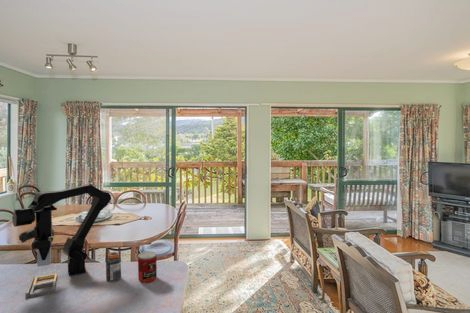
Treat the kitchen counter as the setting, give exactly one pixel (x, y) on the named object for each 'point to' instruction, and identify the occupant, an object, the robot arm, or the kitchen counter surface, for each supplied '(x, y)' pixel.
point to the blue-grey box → (43, 262)
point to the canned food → (147, 267)
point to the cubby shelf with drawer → (40, 285)
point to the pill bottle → (113, 267)
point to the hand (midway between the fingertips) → (44, 258)
